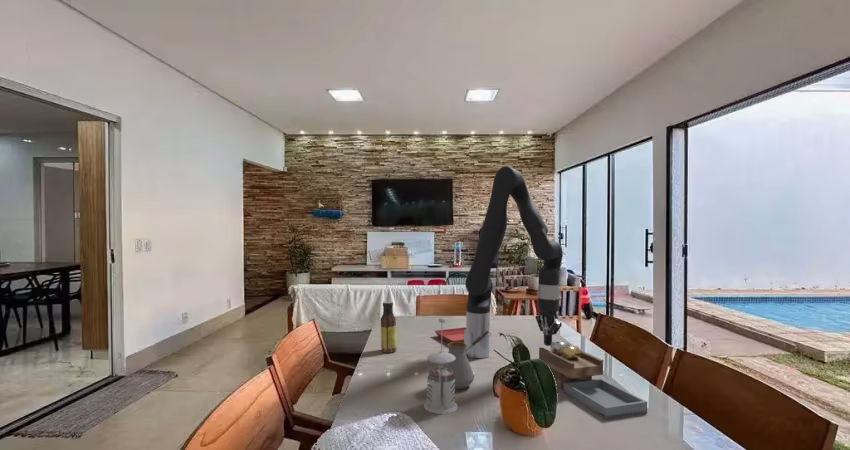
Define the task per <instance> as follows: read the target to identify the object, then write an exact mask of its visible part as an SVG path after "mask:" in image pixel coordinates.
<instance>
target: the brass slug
mask: <svg viewBox="0 0 850 450" xmlns="http://www.w3.org/2000/svg"><path fill="white" fill-rule="evenodd" d="M580 350H581V349H580V347H579V346H578V345H570V346H566V347H561V349H560V354H561V357H562V358H564V359H575V358H580V356H581V351H582V350H581V351H580Z"/></svg>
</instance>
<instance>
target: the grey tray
mask: <svg viewBox="0 0 850 450" xmlns="http://www.w3.org/2000/svg"><path fill="white" fill-rule="evenodd" d="M563 393H564V394H565V393H566V394H565V395H567V396H568V395H569V396H568V397H570V398H571V397H572V398H571V399H573V400H574V399H575V401H576V402H577V403H579V404H580V405H582V406H584V407H585V408H587V409H589V410H590V411H592V412H594V413H595V414H597V415H599V416H600V417H602V418H603V419H605V420H609V419H617V418H623V417H629V416H636V415H641V414H647V413H648V401H647V400H645V399H642V398H641V397H640V396H639V397H638V396H637V395H635V394H634V393H630V392H628V391H627V390H625V389H623V388H621V387H619V386H617V385H615V384H614V383H611V382H609V381H607V380H605V379H603V378H594V379H593V378H592V380H584V381H576V382H568V383H564V388H563Z"/></svg>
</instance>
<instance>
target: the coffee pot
mask: <svg viewBox="0 0 850 450" xmlns="http://www.w3.org/2000/svg"><path fill="white" fill-rule="evenodd" d="M487 334H488V331H486V332H485V333H483V334H482V335H481V336H480V337H478V338H477V339H476V340H475V341H474V342H473V343H472V344H471V345H470V346H468V347H467V345H466V344H465V343H461V342H451V343H449V342H447V344H446V347H448V353H450V354H452V355H453V356H455V357H456V359H455V360H454V361H453V362H451V363H447V364H442V368H447V369H451V370H452V371H453V372H454V374H453V376H454V377H455V382H454V384H455V387H454V388H455V390H462V389H466V388H468V387H469V386H470V385H471V384H472V383H473V381H475V374H474V371H473V369H472V366H471V364H470V361H469V359H468V356H467V355H466V354H465V352H467V351H468V350H469V349H470V348H471V347H472V346H474V345H475V344H476V343H478V342H479V341H480V340H481V339H482V338H483V337H485V335H487ZM487 336H488V335H487ZM489 336H492V333H491V332H489ZM466 347H467V348H466ZM465 348H466V349H465ZM447 382H450V381H448V380H447ZM451 389H452V387H451Z"/></svg>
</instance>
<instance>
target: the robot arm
mask: <svg viewBox="0 0 850 450" xmlns="http://www.w3.org/2000/svg"><path fill="white" fill-rule="evenodd" d="M510 196H511V198H512V199H513V201H514V202H515V204H516V206H517V209H518V213H519V217H520V220H521V223H522V225H523V226H524V228H525V230H526V232H527V234H528V236H529V239H530V242H531V246H532V249H533V252H534V255H535V256H536V257H537V258H538V259H539V260H540V261H543V266H542V267H540V268H539V270H538V278H537V279H538V284H537V285H538V286H537V301H536V302H537V304H536V305H537V310H539V314H538V315H535V320H536V323H537V326H538V328H539V331H540V332H542V334H543V344H544V346H546V347H551V343H552V342H553V335H557V333H558V332H559V330H560V329H561V327H562V325H563V324H562V322H560V321H559V320H558V314H557V313H558V312H559V311H560V270H561V266H562V261H563V255H564V254H563V248H562V245H561V243H559V242H558V241H556V240H549V239H548V236H547V235H548V233H549V229H548V226H547V225H546V223H545V221H544V220H543V217H542V216H541V214H540V213H539V210H538V209H537V207H536V205H535V203H534V202H533V199H532V197H531V194H530V191H529V189H528V187H527V184H526V180H525V178H524V175H523V174H522V173H521V171H520V170H517V169H514V168H513V167H511V166H501V168H499V169H498V170H497V171H496V172H495V176H494V179H493V182H492V188H491V194H490V199H489V203H488V207H487V209H486V213H485V216H484V220H483V223H482V226H481V230H480V233H479V236H478V241H477V246H476V248H475V249H476V250H475V254H474V258H473V261H472V264H471V267H470V269H469V272H468V274H467V276H466V279H465V289H466V291H467V293H468V294H467V297H468V298H467V302H466V308H465V309H466V316H465V319H466V322H465V323H466V325H465V327H466V329H465V330H464V343H465V344H466V345H467V347H468V346H470V345H471V344H472V343H473V342H474V341H475V340H476V339H477V338H478V337H480V336H481V335H482V334H483V333H485V332H486V331H488V334H487V335H488V336H487V335H485V337H483V338H482V339H481V340H480V341H479V342H478V343H476V344H475V345H474V346H472V347H471V348H470V349H469V350H468V351H467V352H465V354H466V356H467V358H468V357H469V359H470V358H475V359H484V358H488V357H489V356H490V333H491V332H490V331H491V330H490V328H491V327H490V326H491V325H490V321H491V320H490V318H491V312H490V311H491V303H492V278H491V276H490V275H491V271H492V265H493V263H494V261H495V259H496V257H497V254H498V253H499V250H500V249H501V247H502V244H503V242H504V238H505V235H506V232H507V228H508V217H507V215H508V212H507V209H508V207H507V206H508V201H509V198H510ZM489 332H490V333H489ZM467 347H466V348H467ZM466 348H465V349H466Z"/></svg>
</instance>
